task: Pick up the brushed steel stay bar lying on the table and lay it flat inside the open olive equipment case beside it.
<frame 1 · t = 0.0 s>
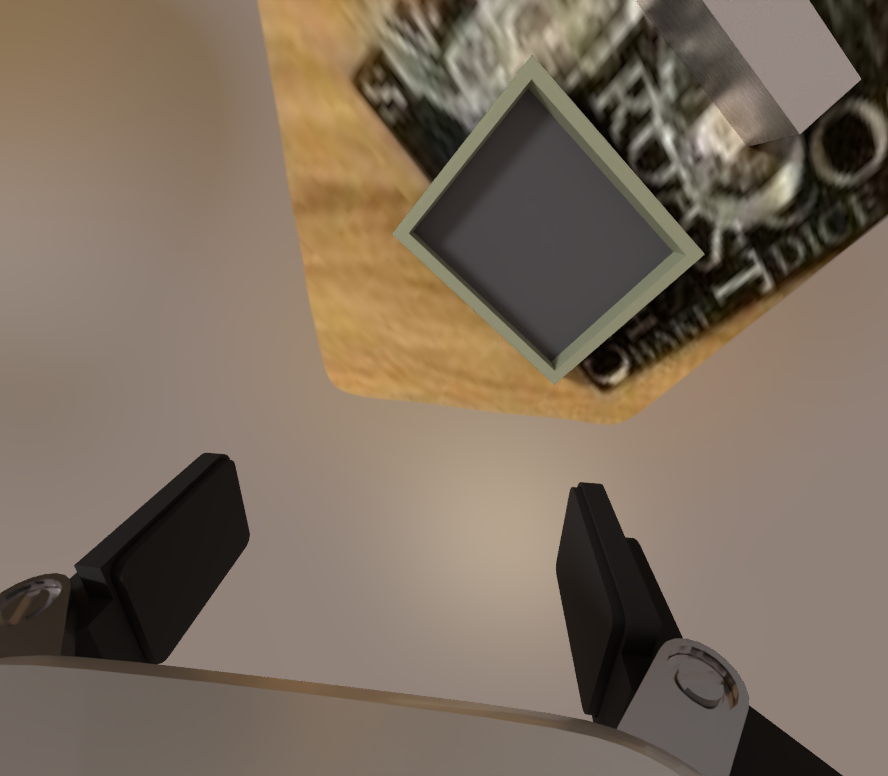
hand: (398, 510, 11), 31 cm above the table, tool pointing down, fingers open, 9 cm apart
stay bar: (717, 52, 31), on the table
case: (539, 240, 37), on the table
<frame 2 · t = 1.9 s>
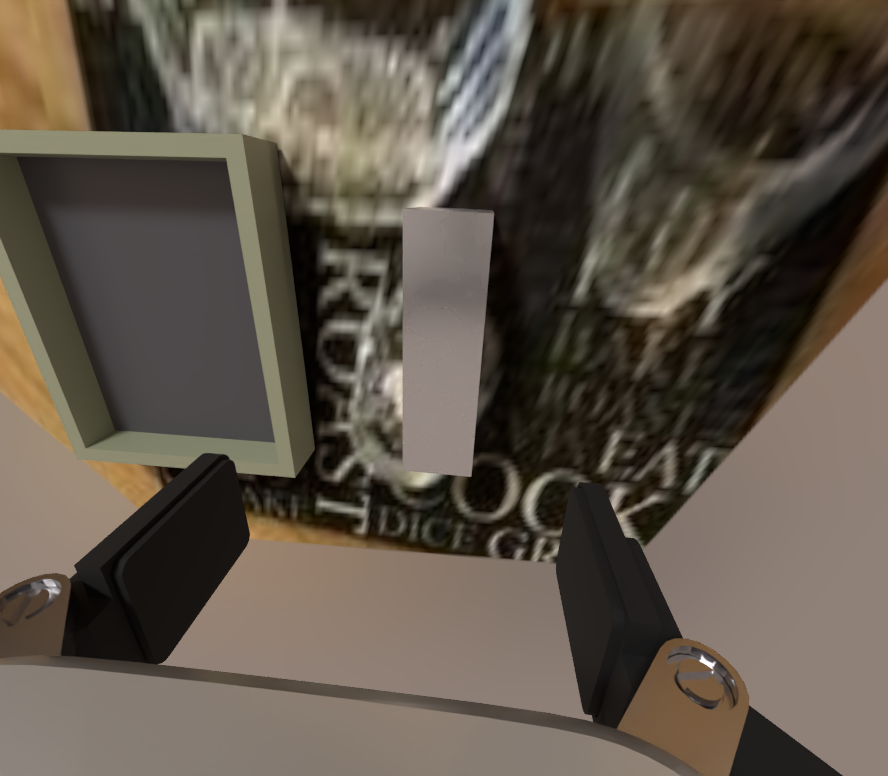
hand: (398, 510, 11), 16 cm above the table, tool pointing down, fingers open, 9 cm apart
stay bar: (451, 327, 26), on the table
case: (183, 314, 27), on the table
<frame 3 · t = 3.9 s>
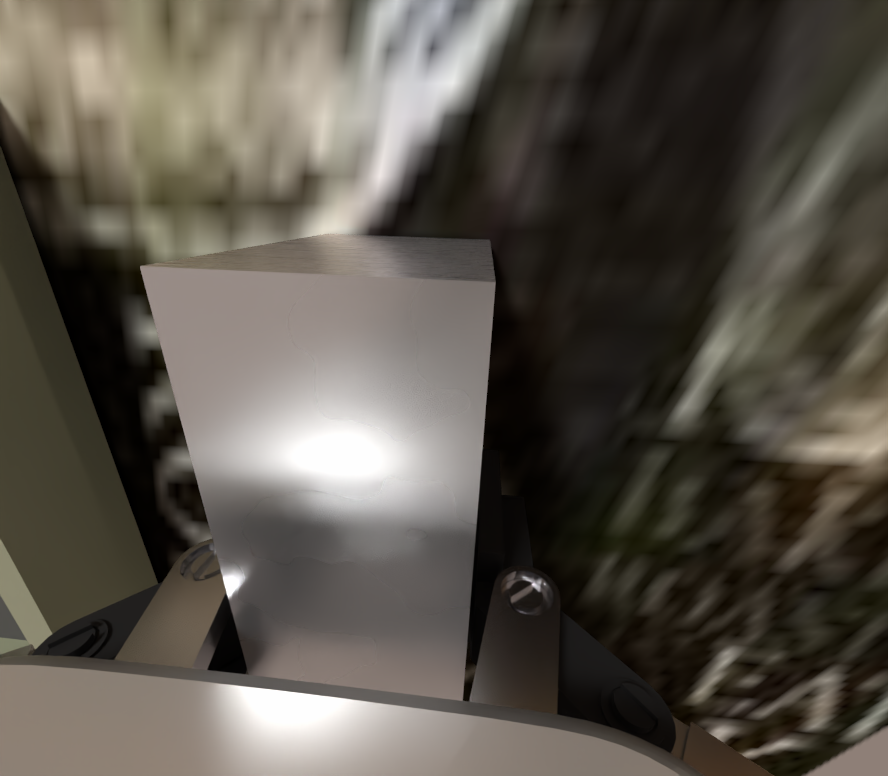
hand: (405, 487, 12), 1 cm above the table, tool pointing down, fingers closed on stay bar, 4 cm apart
stay bar: (409, 474, 13), on the table, touching gripper
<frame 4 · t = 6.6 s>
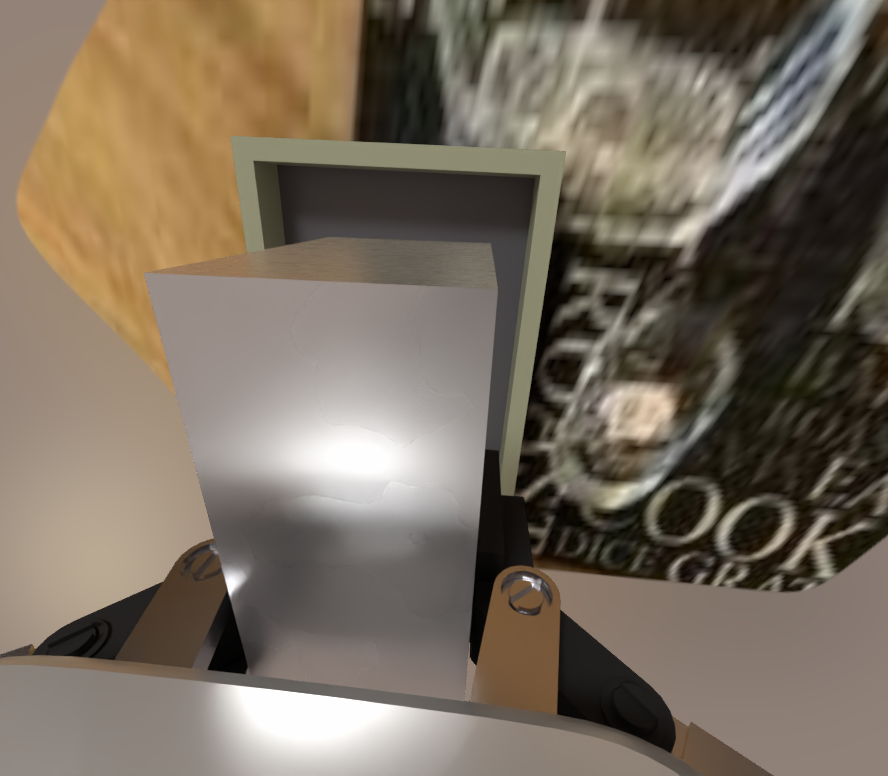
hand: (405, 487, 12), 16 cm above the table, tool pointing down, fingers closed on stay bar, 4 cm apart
stay bar: (410, 476, 13), point 15 cm above the table, touching gripper
case: (404, 328, 26), on the table
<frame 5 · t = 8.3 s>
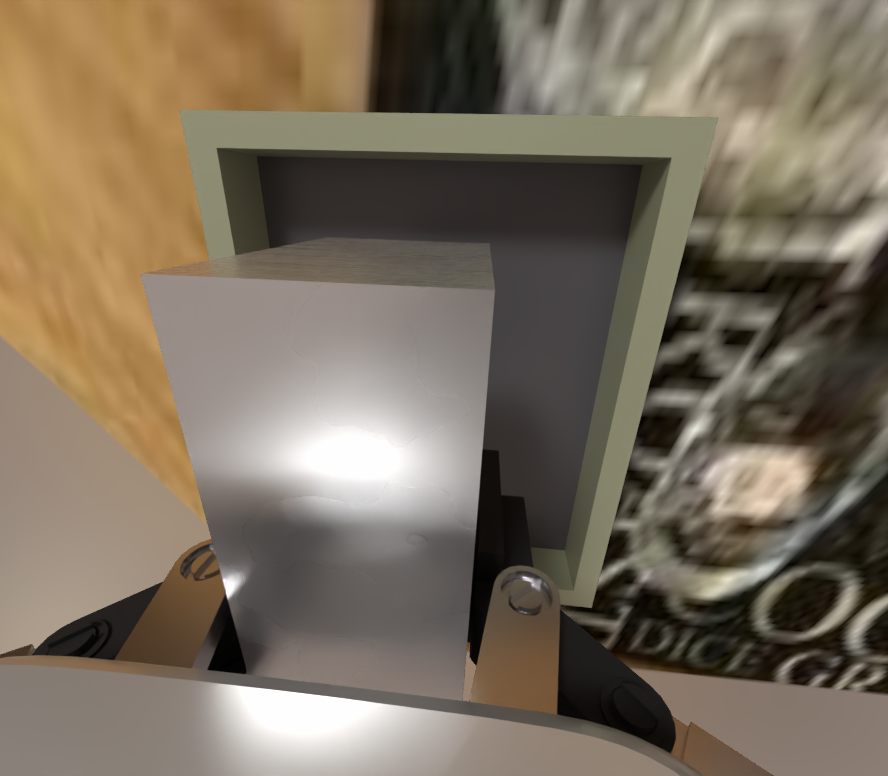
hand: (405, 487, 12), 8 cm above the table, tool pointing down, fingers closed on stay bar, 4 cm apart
stay bar: (409, 476, 13), point 7 cm above the table, touching gripper
case: (439, 378, 19), on the table
when the fingers open (3 cm above the table, at t = 9.5 s): stay bar drops 1 cm, resting on case.
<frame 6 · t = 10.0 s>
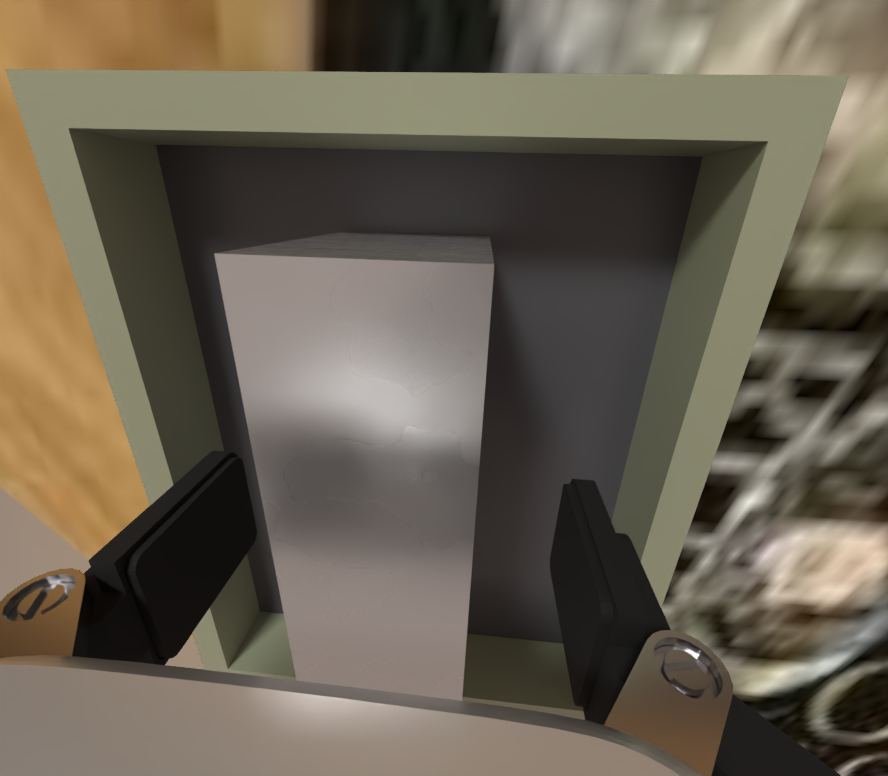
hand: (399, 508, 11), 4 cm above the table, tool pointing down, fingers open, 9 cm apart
stay bar: (416, 451, 14), point 1 cm above the table, touching case
case: (419, 436, 15), on the table
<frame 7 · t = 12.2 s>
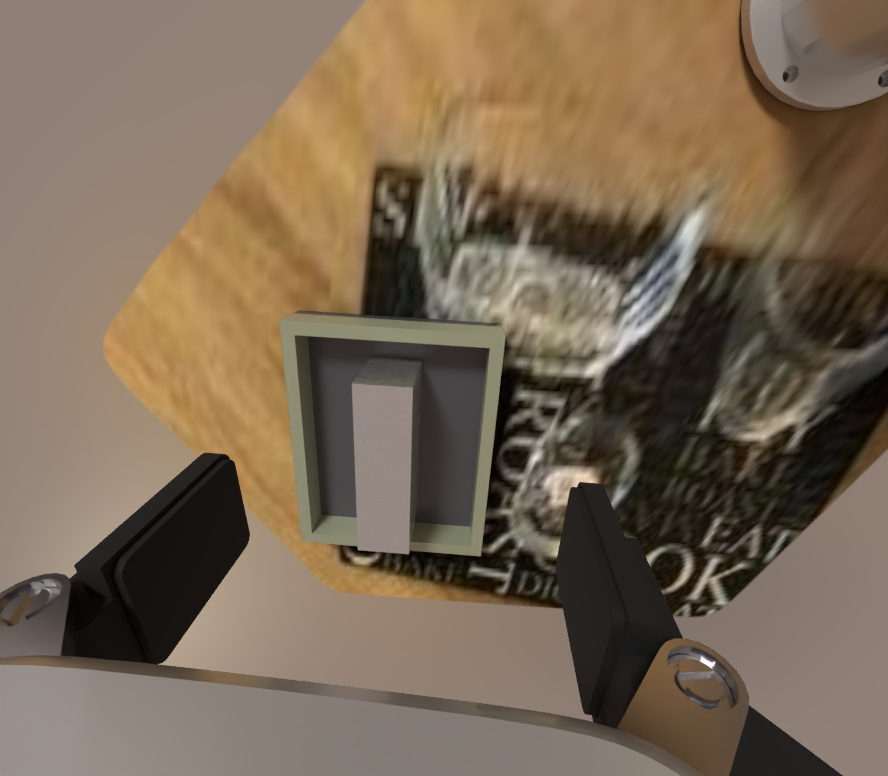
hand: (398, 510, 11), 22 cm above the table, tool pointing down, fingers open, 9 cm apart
stay bar: (396, 435, 35), point 1 cm above the table, touching case
case: (398, 430, 36), on the table
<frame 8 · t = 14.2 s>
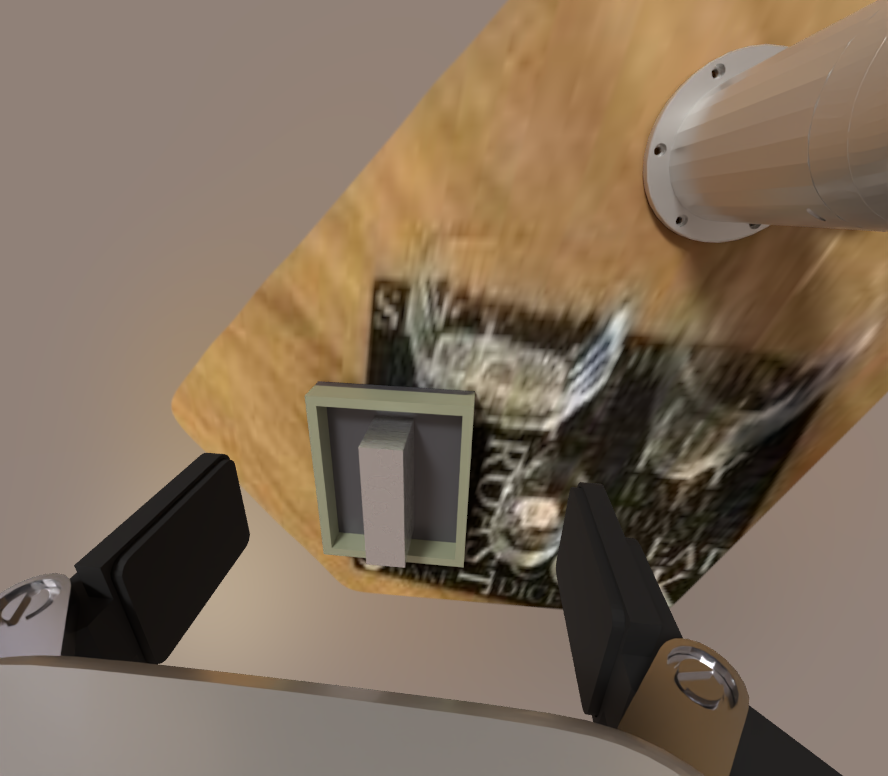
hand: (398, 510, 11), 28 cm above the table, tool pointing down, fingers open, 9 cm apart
stay bar: (395, 474, 44), point 1 cm above the table, touching case
case: (397, 468, 45), on the table
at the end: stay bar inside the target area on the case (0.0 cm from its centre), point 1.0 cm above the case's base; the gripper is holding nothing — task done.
